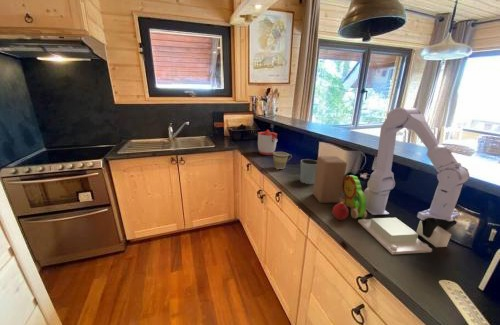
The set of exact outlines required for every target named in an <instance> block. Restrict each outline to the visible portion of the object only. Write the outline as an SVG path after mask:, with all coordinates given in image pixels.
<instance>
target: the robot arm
mask: <svg viewBox="0 0 500 325" xmlns="http://www.w3.org/2000/svg"><path fill="white" fill-rule="evenodd" d="M403 129H407V130H411V131H414V133H415V134H416V135H417V137H418V138H419V140H420V141H421V142H422V143H423V145H424V147H425V148H426V149H427V151H426V156H427V158H428V159H429V161H430V163H431V164H432V166H433V167H434V169H435V171H436V172H438V173H437V174H436V178H437V181H438V183H437V187H436V189H435V192H434V195H433V199H432V200H431V204H430V207H429V208H428V209H425V210H422V211H418V212H417V215H416V217H417V218H418V219H419V220H420V221H421V222H422V226H423V235H424V236H426V237H427V238H430V237H431V235H432V233H433V231H434V229H435V228H436V227H437V226H439V227H441V228H442V229H444V230H446V231H447V232H448V230H449V229H450V228H452V227H453V226H455V225H457V221H456V220H455V219H457V220H459V219H458V217H459V216H460V214H458V212H459V211H457V212H454V211H455V207H456V205H457V202H458V199H459V197H460V196H461V192H462V187H463V184H464V183H466V182H467V181H468V180H469V179H470V173H469V169H468V168H467V167H465V166H463V165H462V164H461V162H458V161H457V159H456V157H455V156H454V155H453V152H454V151H453V149H452V148H448V146H446V145H442V144H440V143H439V141H438V139H437V137H436V136H435V134H434V133H433V131H432V129H431V128H430V126H429V124H428V122H427V121H426V117H425V115H423V114H422V113H421V110H420V109H419V108H418V107H395V108H393V109H392V110H390V111H389V112H388V113H387V115H386V119H385V120H384V122H383V123H382V125H381V127H380V132H379V133H380V134H379V140H378V149H377V157H376V165H375V169H374V171H373V172H372V173H371V174H370V178H369V179H368V181H367V186H366V188H365V189H364V190H363V193H364V194H365V197H366V209H365V210H366V212H367V213H370V215H373V216H381V215H385V216H386V215H390V212H388V211H387V210H386V206H387V203H388V199H389V195H390V192H391V191H392V190H393V189H394V188H395V186H396V181H395V178H394V177H395V176H394V175H395V174H394V172H393V171H392V167H393V160H394V154H395V145H396V140H397V139H396V138H397V133H398V132H400V131H401V130H403ZM460 217H461V216H460ZM454 218H455V219H454Z"/></svg>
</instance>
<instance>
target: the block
mask: <svg viewBox="0 0 500 325" xmlns="http://www.w3.org/2000/svg"><path fill="white" fill-rule="evenodd" d="M316 161H317V167H316V174H315V181H314V184H313V188H312V189H313V191H312V194H313V196H314V197H315V198H316V199H317V201H318V202H319V203H324V204H325V203H326V204H327V203H328V204H329V203H331V204H333V203H336V204H339V199H340V198H342V197H341V196H342V193H343V188H342V187H343V182H344V178H345V176H346V175H345V174H346V171H347V162H346V161H345V160H344V159H341V158H340V157H339V156H330V155H329V156H327V155H326V156H325V155H324V156H322V155H320V156H317V159H316Z"/></svg>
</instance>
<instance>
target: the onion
mask: <svg viewBox="0 0 500 325" xmlns="http://www.w3.org/2000/svg"><path fill="white" fill-rule="evenodd" d="M332 214H333V216H334V217H335V218H336V220H338V221H341V220H342V221H343V220H345V219H346V218H348V216H349V208H348V206H346V205H345V204H344V203H343V202H340V203H339V202H338V203H336V204H335V205H334V206H333V207H332Z"/></svg>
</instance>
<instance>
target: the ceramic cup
mask: <svg viewBox="0 0 500 325" xmlns="http://www.w3.org/2000/svg"><path fill="white" fill-rule="evenodd" d="M272 157H273V166H274V168H276V170H279V169H283V170H285V169H284V168H286V165H287V162H289V160H291V159H292V157H293V156H292V154H290V153H287V152H284V151H274V153H273V154H272Z"/></svg>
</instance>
